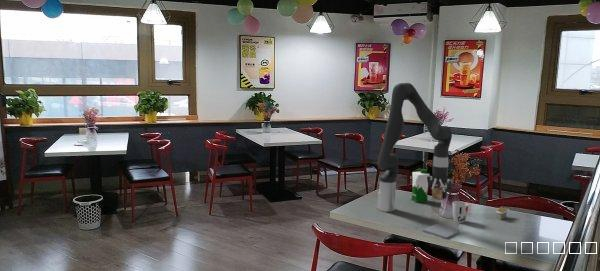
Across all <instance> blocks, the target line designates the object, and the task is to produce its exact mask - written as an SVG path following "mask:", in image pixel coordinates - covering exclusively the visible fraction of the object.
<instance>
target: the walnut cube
mask: <svg viewBox="0 0 600 271" xmlns="http://www.w3.org/2000/svg"><path fill="white" fill-rule="evenodd" d="M442 196H443V189H442V187H436V188H434V189H431V199H433V200H438V201H443V200H445V199H447V197H446V198H445V199H442Z"/></svg>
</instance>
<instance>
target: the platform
mask: <svg viewBox="0 0 600 271" xmlns="http://www.w3.org/2000/svg"><path fill="white" fill-rule="evenodd" d="M508 211H510V208H507V207H506V206H505V207H504V206H503V205H502V206H500V207H499V208H498V209H496V213H498V217H497V219H498V220H499V219H500V221H502V220H503V219H505V218H507V212H508Z"/></svg>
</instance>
